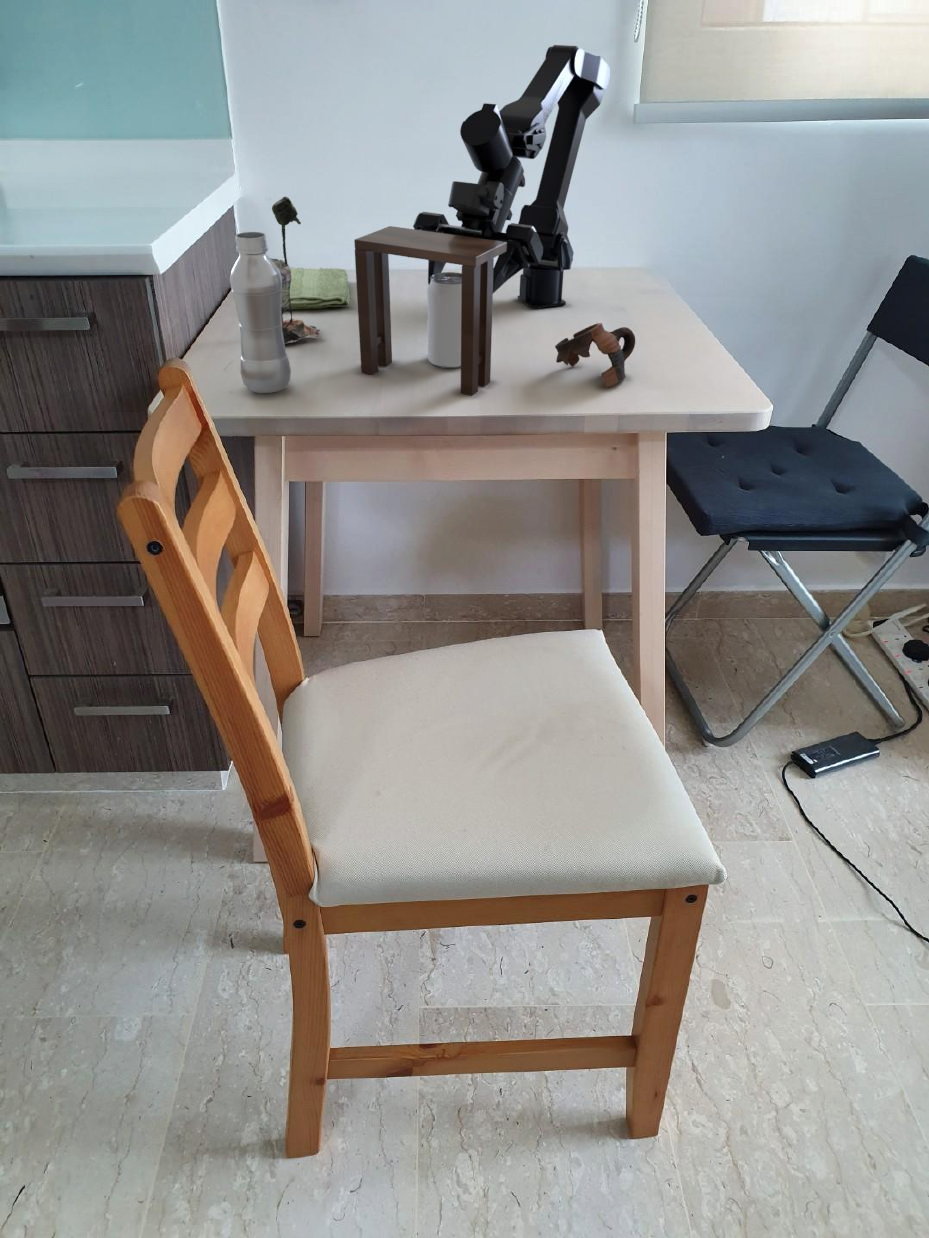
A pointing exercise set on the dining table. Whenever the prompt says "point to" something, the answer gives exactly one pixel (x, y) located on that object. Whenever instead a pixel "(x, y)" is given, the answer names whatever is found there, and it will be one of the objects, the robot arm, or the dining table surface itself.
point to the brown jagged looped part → (605, 344)
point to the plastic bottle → (259, 315)
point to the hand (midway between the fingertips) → (458, 290)
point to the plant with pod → (289, 277)
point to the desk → (474, 295)
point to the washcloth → (319, 288)
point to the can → (444, 319)
